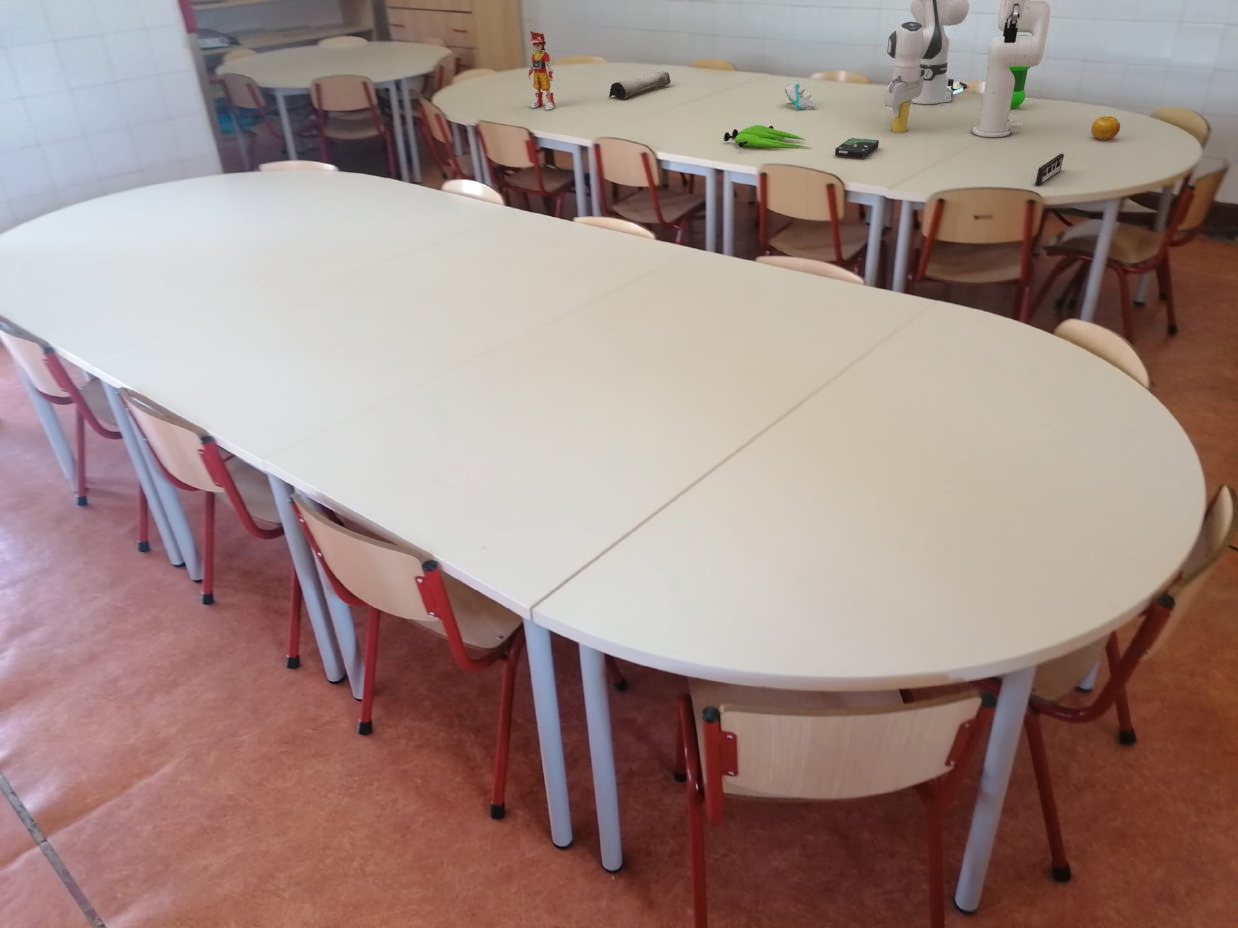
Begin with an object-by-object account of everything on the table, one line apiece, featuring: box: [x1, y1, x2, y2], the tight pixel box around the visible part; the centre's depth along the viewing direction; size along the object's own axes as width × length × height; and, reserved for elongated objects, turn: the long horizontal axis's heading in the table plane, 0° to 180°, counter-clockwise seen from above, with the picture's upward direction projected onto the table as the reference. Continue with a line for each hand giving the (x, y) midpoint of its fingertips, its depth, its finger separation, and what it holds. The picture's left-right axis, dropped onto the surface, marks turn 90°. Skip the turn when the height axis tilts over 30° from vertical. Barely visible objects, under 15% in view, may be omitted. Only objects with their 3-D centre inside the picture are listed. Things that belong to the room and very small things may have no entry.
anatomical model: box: [784, 80, 816, 111], centre depth 360 cm, size 15×10×10 cm
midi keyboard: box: [1035, 153, 1065, 186], centre depth 273 cm, size 18×1×5 cm, turn 138°
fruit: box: [1090, 115, 1121, 141], centre depth 303 cm, size 8×8×8 cm
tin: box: [891, 101, 911, 133], centre depth 323 cm, size 5×5×10 cm
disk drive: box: [834, 137, 880, 159], centre depth 305 cm, size 10×3×15 cm
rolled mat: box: [608, 71, 672, 101], centre depth 395 cm, size 30×9×10 cm
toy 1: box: [527, 31, 556, 111], centre depth 374 cm, size 12×9×30 cm
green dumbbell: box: [1009, 66, 1031, 110], centre depth 337 cm, size 10×10×25 cm
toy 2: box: [723, 124, 807, 148], centre depth 319 cm, size 28×5×30 cm
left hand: (900, 115), depth 323 cm, fingers closed on tin, 5 cm apart
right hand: (1008, 39), depth 271 cm, fingers open, 9 cm apart
